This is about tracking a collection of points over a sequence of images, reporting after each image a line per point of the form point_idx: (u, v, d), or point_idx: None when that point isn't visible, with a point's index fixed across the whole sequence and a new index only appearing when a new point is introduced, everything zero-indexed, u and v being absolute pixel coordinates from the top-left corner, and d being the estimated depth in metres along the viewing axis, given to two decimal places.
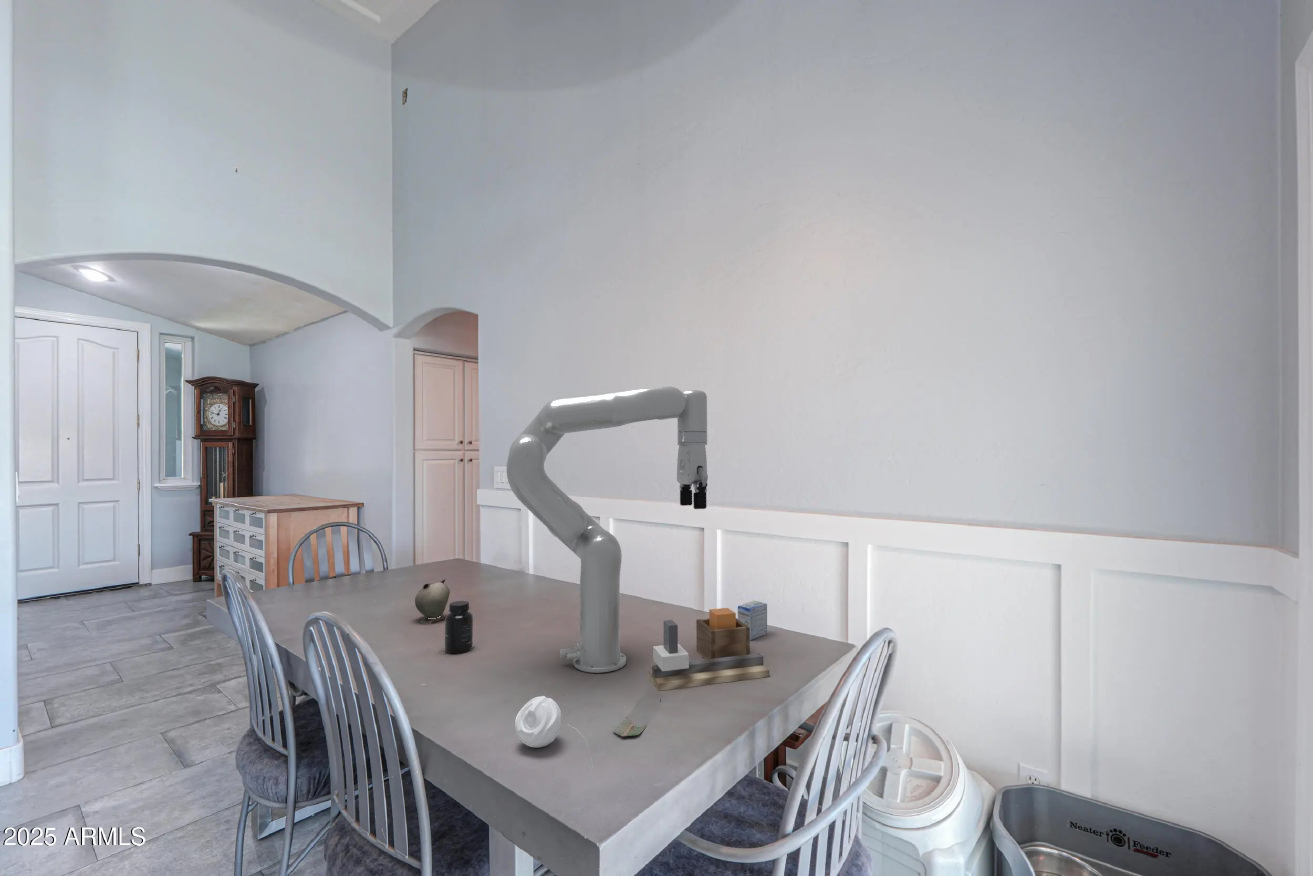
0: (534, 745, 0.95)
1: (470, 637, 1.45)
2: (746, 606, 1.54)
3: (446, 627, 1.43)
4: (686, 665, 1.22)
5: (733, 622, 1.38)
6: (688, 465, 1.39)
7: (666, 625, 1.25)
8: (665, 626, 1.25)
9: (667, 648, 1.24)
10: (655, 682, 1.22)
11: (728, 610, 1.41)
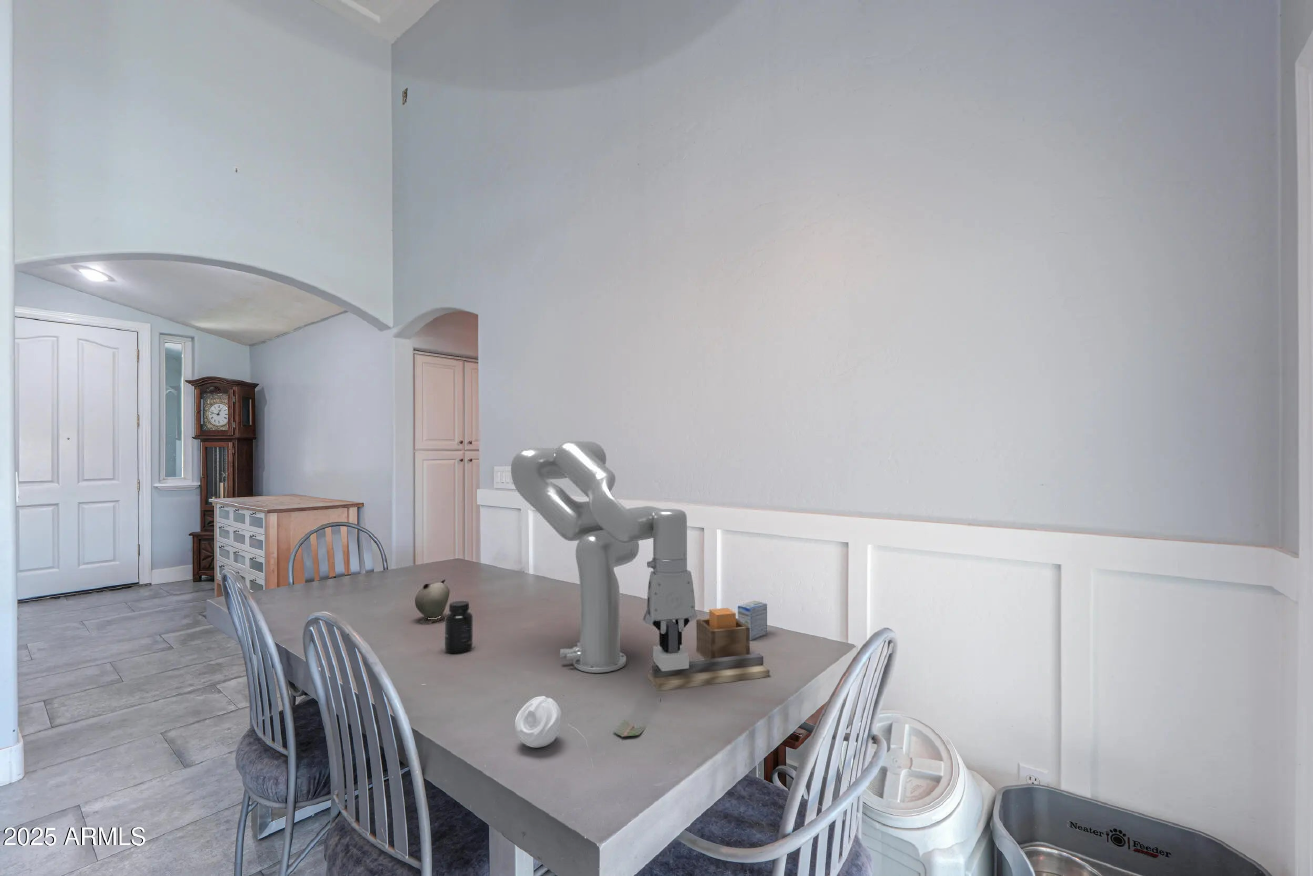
0: (534, 745, 0.95)
1: (470, 637, 1.45)
2: (746, 606, 1.54)
3: (446, 627, 1.43)
4: (686, 665, 1.22)
5: (733, 622, 1.38)
6: (691, 596, 1.24)
7: (666, 625, 1.25)
8: None
9: None
10: (655, 682, 1.22)
11: (728, 610, 1.41)
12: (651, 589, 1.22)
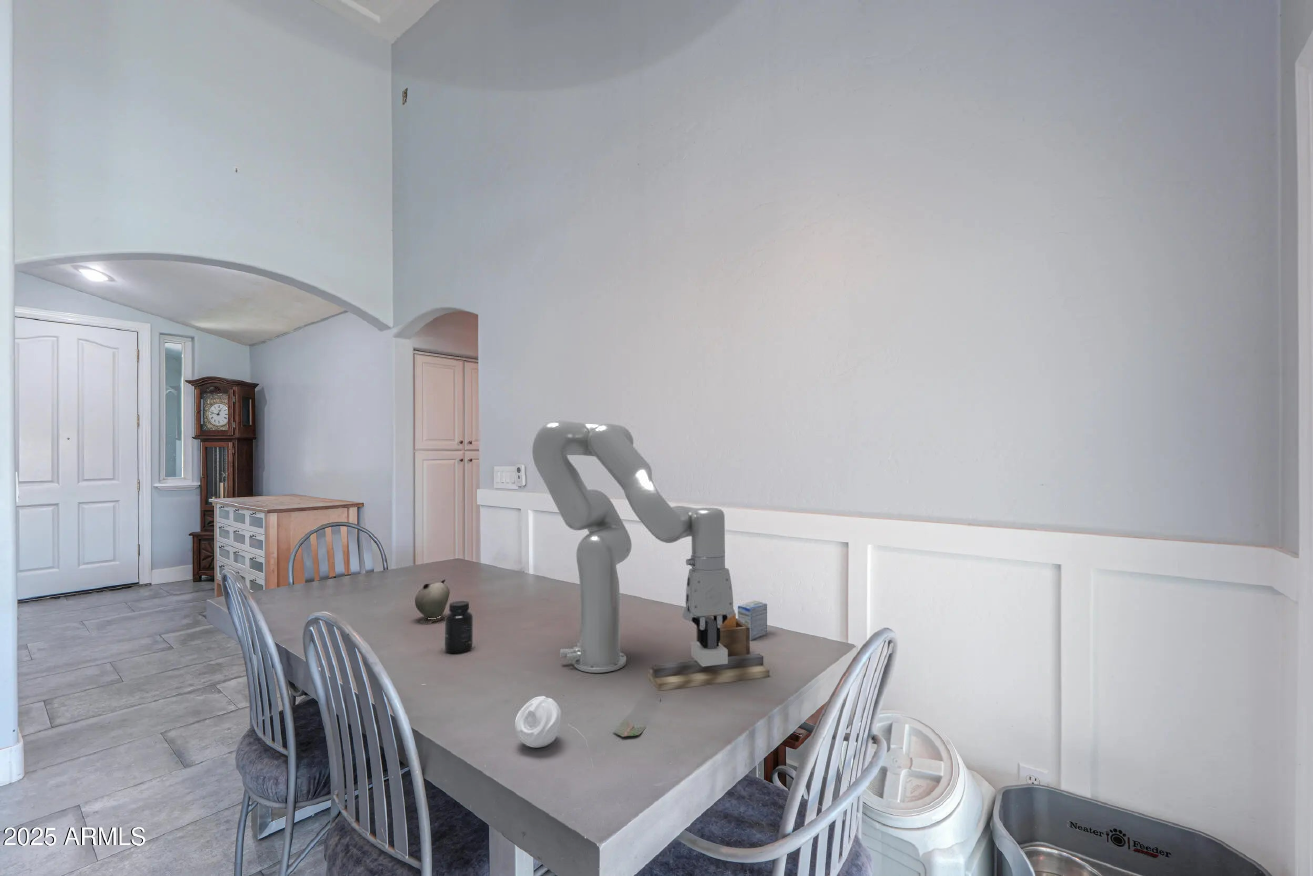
0: (534, 745, 0.95)
1: (470, 637, 1.45)
2: (746, 606, 1.54)
3: (446, 627, 1.43)
4: (725, 660, 1.25)
5: (733, 622, 1.38)
6: (729, 593, 1.26)
7: (705, 621, 1.27)
8: None
9: None
10: (655, 682, 1.22)
11: None
12: (690, 586, 1.25)
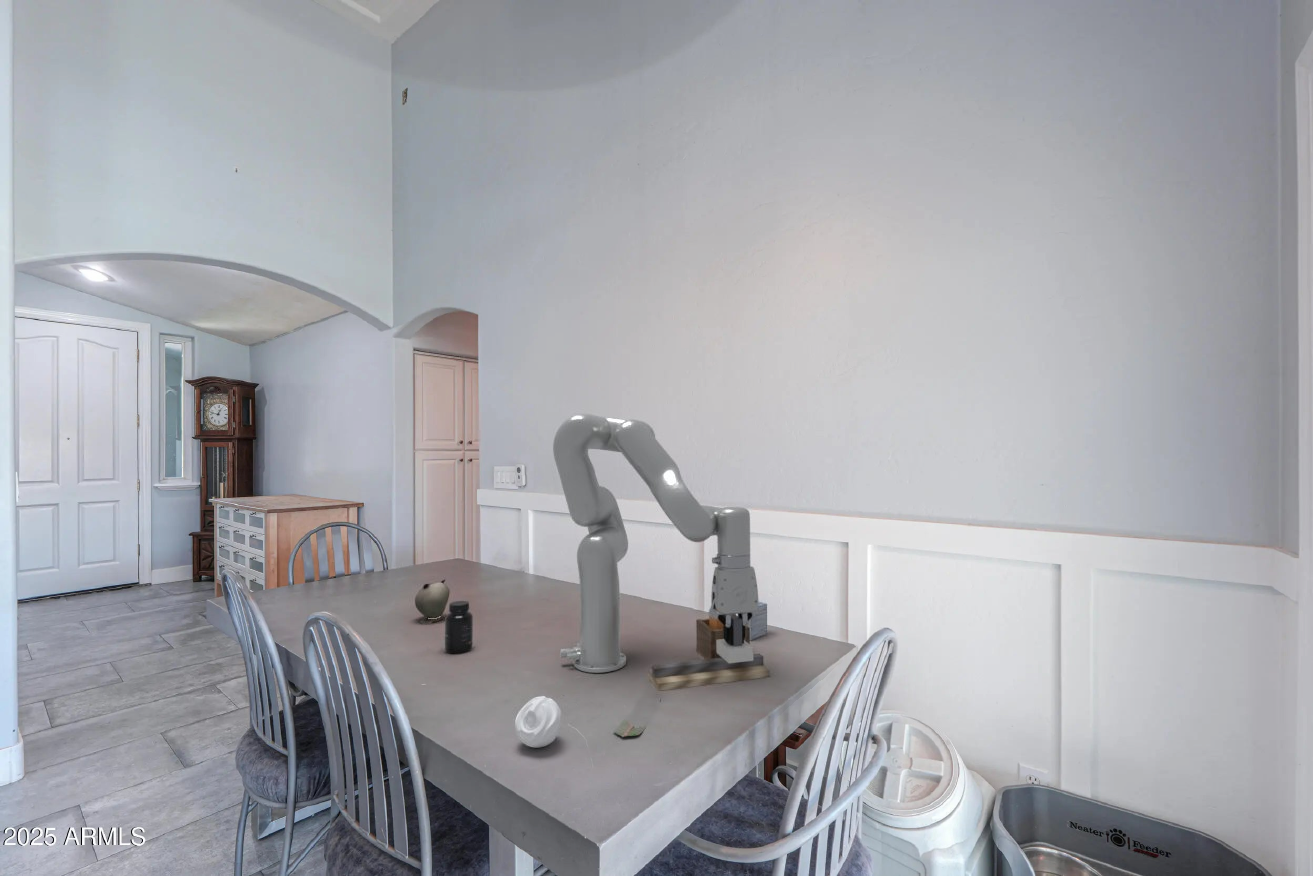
0: (534, 745, 0.95)
1: (470, 637, 1.45)
2: None
3: (446, 627, 1.43)
4: (751, 657, 1.26)
5: None
6: (755, 591, 1.28)
7: None
8: None
9: None
10: (655, 682, 1.22)
11: None
12: (717, 584, 1.27)
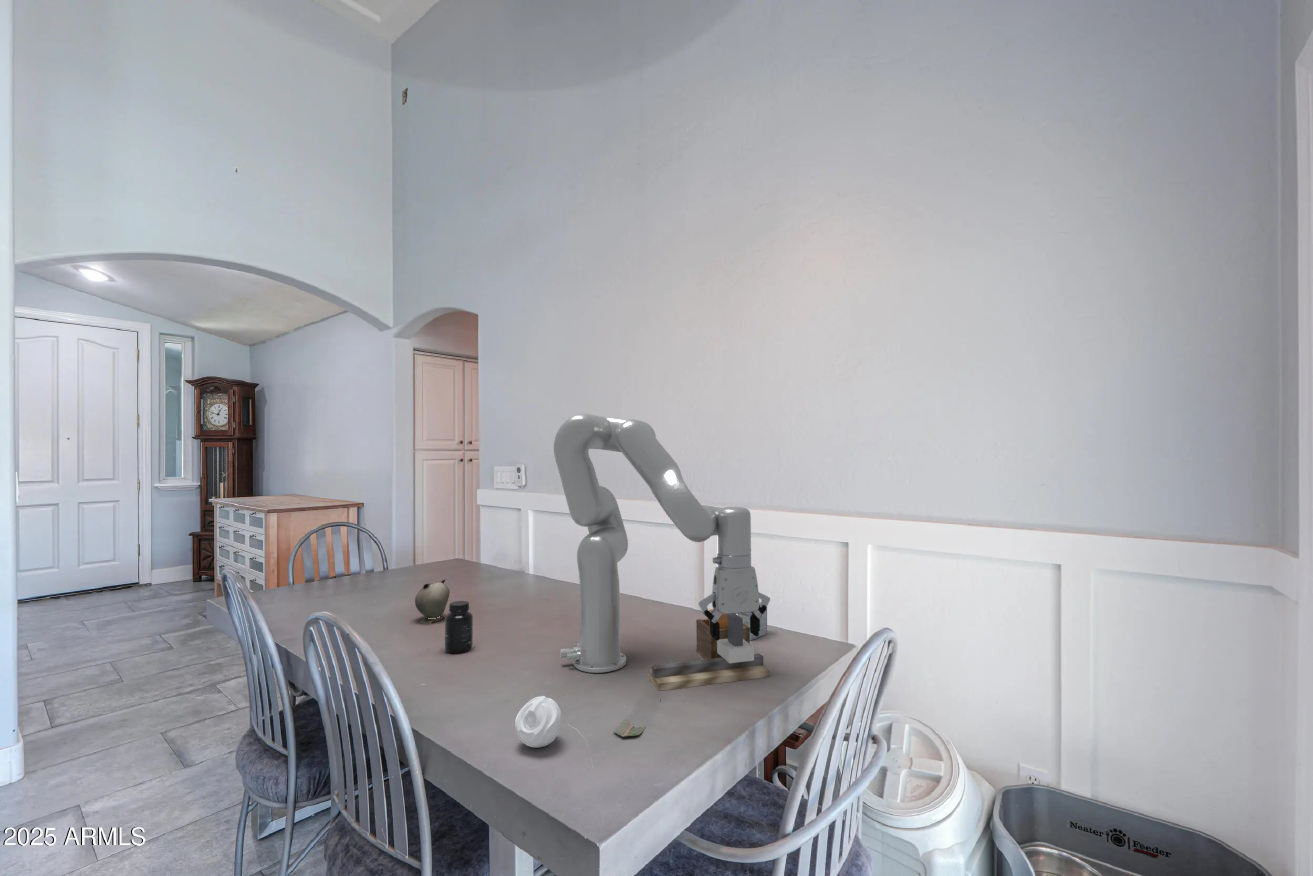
0: (534, 745, 0.95)
1: (470, 637, 1.45)
2: None
3: (446, 627, 1.43)
4: (751, 657, 1.26)
5: None
6: (755, 591, 1.28)
7: (731, 619, 1.29)
8: (730, 620, 1.30)
9: (732, 641, 1.28)
10: (655, 682, 1.22)
11: None
12: (718, 584, 1.27)
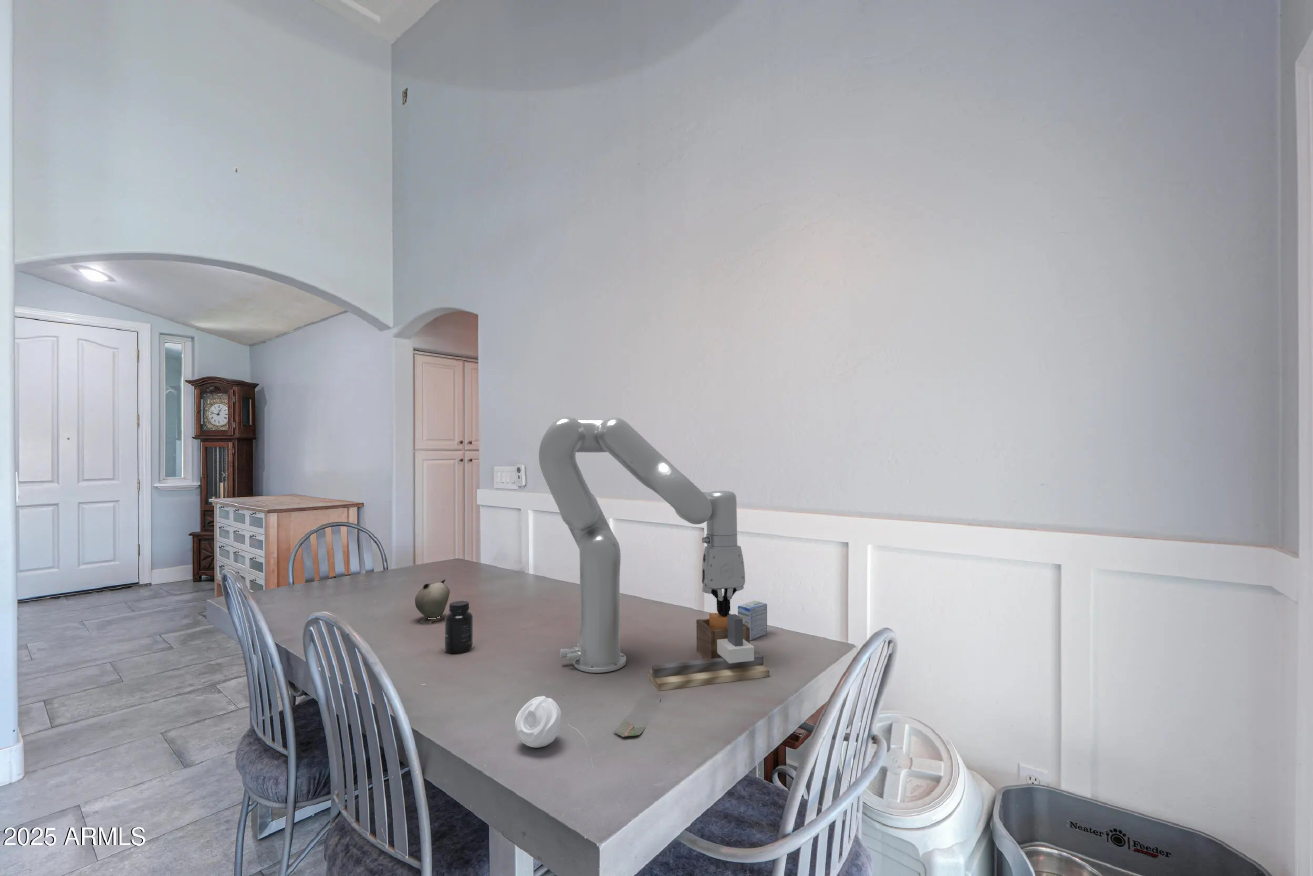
0: (534, 745, 0.95)
1: (470, 637, 1.45)
2: (746, 606, 1.54)
3: (446, 627, 1.43)
4: (751, 657, 1.26)
5: None
6: (741, 568, 1.39)
7: (731, 619, 1.29)
8: (730, 620, 1.30)
9: (732, 641, 1.28)
10: (655, 682, 1.22)
11: None
12: (706, 561, 1.38)
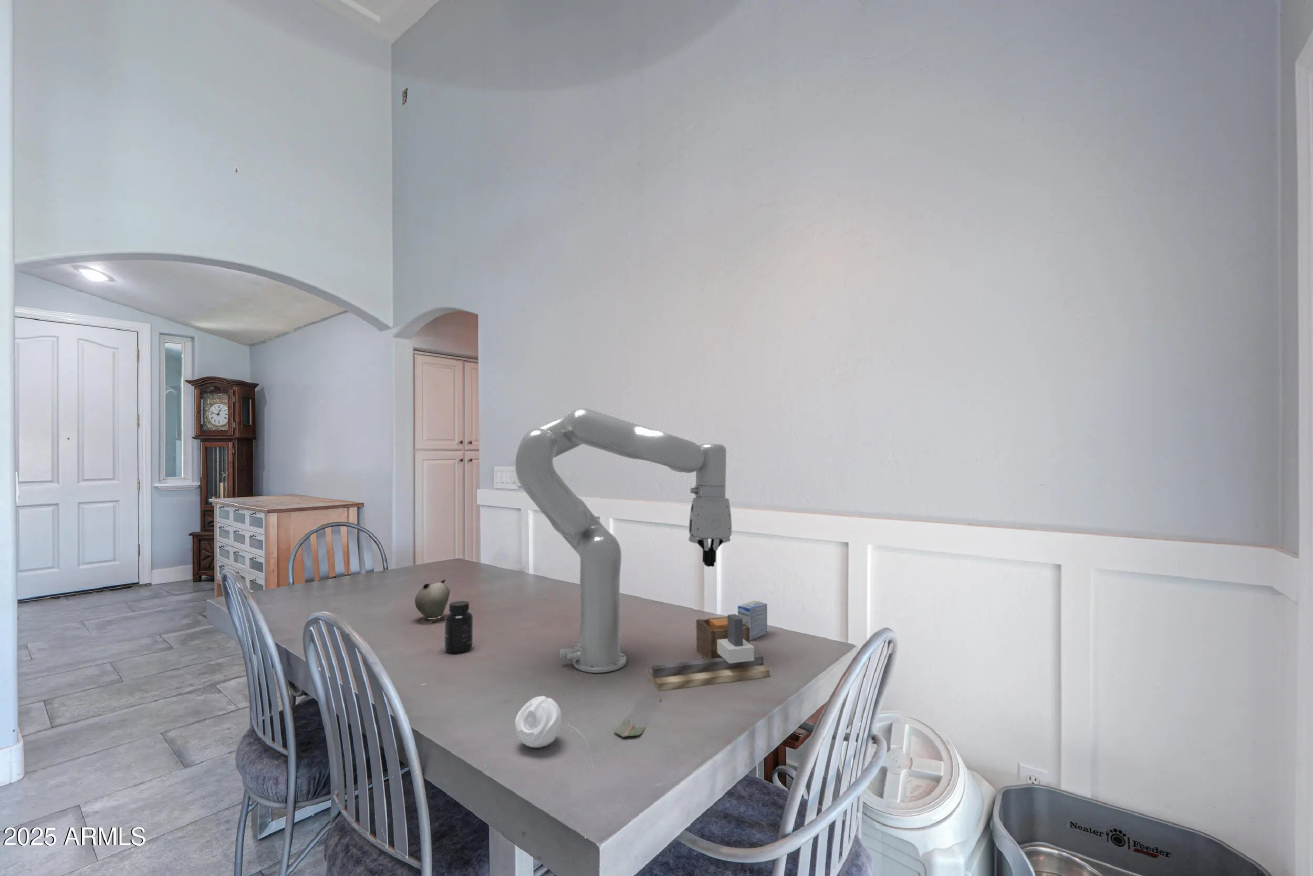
0: (534, 745, 0.95)
1: (470, 637, 1.45)
2: (746, 606, 1.54)
3: (446, 627, 1.43)
4: (751, 657, 1.26)
5: None
6: (728, 519, 1.41)
7: (731, 619, 1.29)
8: (730, 620, 1.30)
9: (732, 641, 1.28)
10: (655, 682, 1.22)
11: None
12: (694, 511, 1.40)
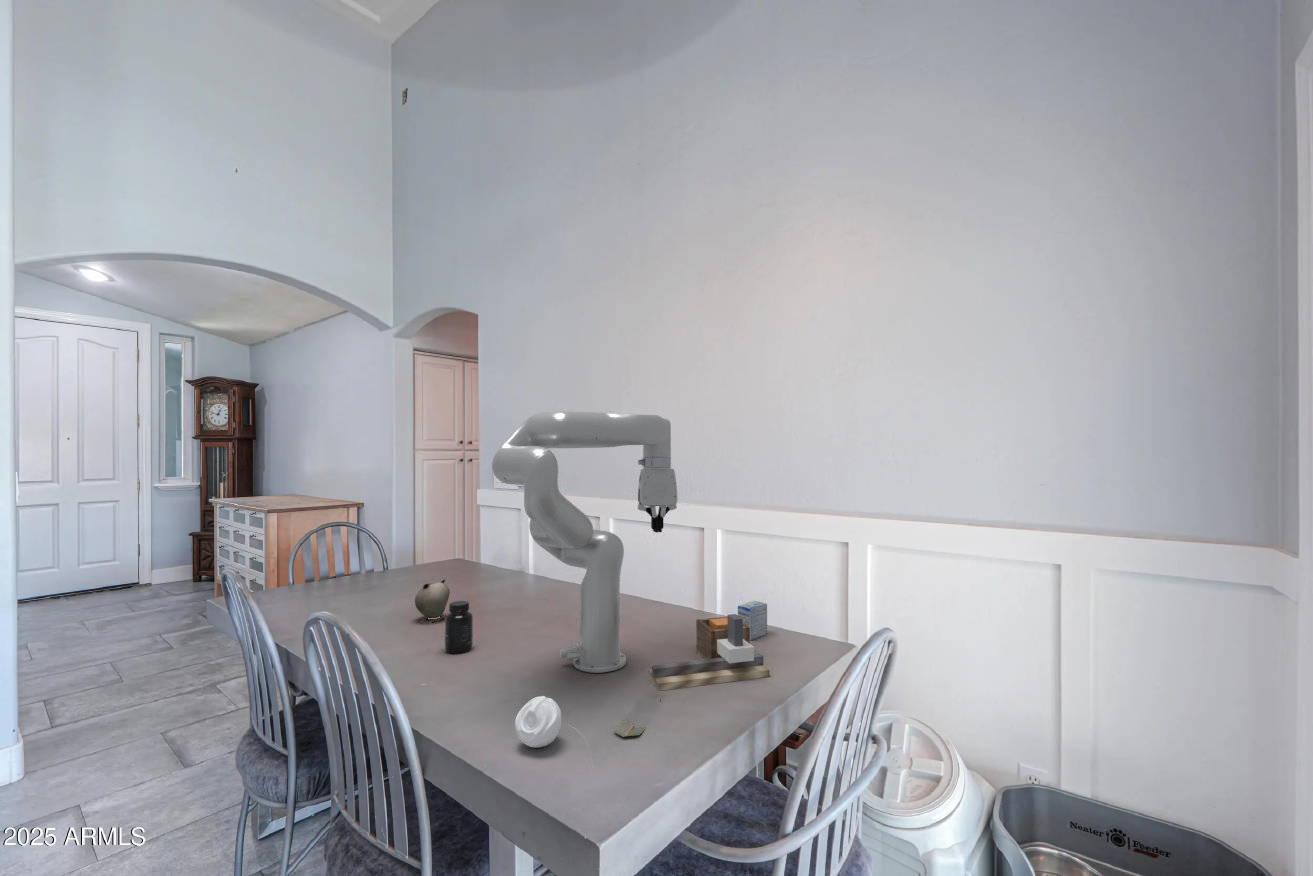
0: (534, 745, 0.95)
1: (470, 637, 1.45)
2: (746, 606, 1.54)
3: (446, 627, 1.43)
4: (751, 657, 1.26)
5: None
6: (674, 488, 1.52)
7: (731, 619, 1.29)
8: (730, 620, 1.30)
9: (732, 641, 1.28)
10: (655, 682, 1.22)
11: None
12: (641, 481, 1.50)
